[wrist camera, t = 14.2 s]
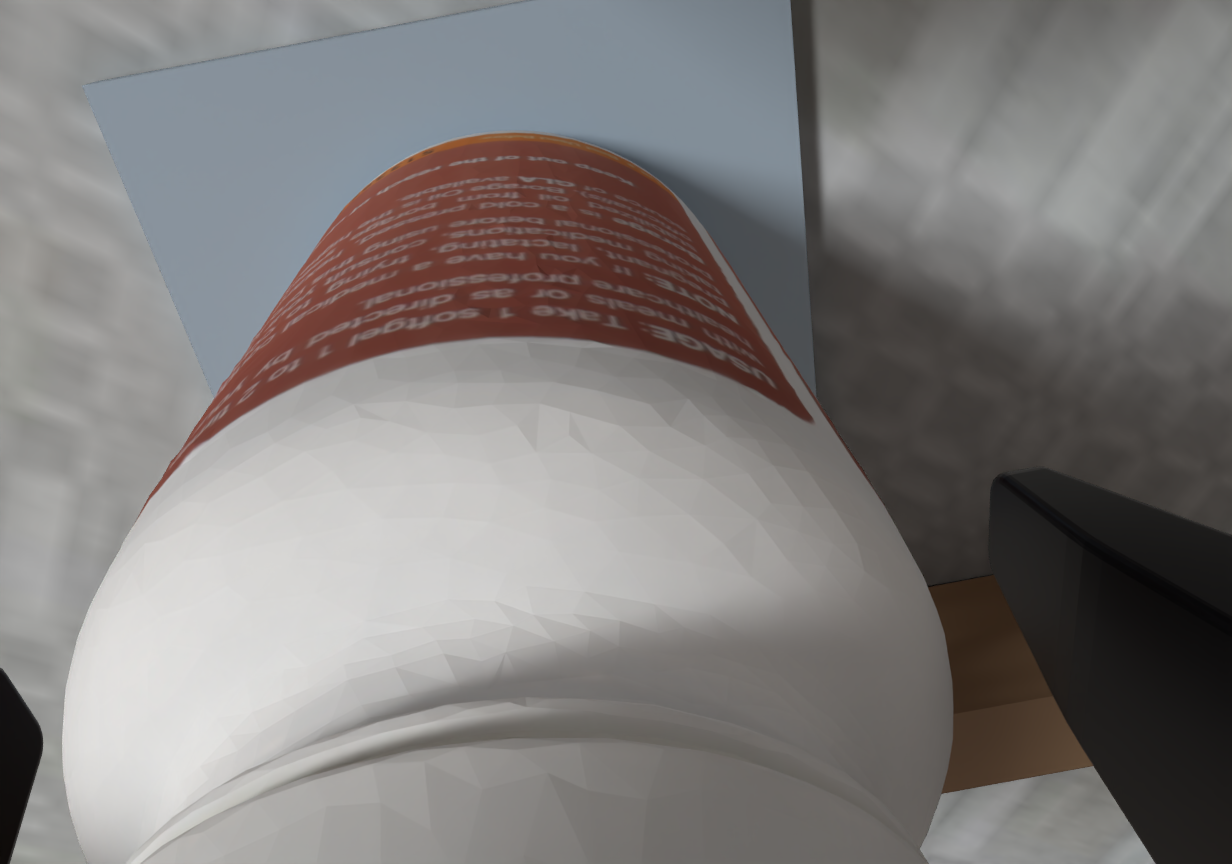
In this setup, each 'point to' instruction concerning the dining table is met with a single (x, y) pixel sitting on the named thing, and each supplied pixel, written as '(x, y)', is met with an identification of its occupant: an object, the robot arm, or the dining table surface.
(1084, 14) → the dining table surface
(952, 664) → the wooden angled piece
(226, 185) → the pad
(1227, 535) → the robot arm
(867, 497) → the pill bottle
